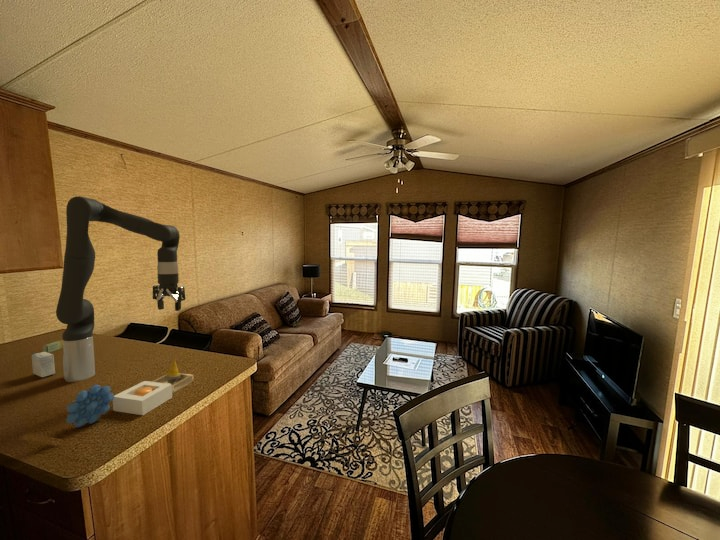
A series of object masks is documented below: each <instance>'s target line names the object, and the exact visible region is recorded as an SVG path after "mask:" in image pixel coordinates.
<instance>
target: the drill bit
mask: <svg viewBox="0 0 720 540" xmlns="http://www.w3.org/2000/svg"><path fill="white" fill-rule="evenodd" d="M179 373H180V371H179V368H178V365H177V361H176V359H173V362H172V363H171V365H170V367H169V369H168V371H167V373H166V374H167V375H166V374H165V379H168V381H167V383H171V384H173V383H174V382H175V381H176V380H177V379H179V378H180V374H179Z"/></svg>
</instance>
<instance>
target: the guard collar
mask: <svg viewBox="0 0 720 540" xmlns="http://www.w3.org/2000/svg"><path fill="white" fill-rule="evenodd" d="M144 387H151V388H152V391H151V392H150V393H148V394H146V395H144V396H137V395H135V391H136V390H138V389H140V388H144ZM172 398H173V394H172V384H165V383H157V382H152V381H150V380H144V381H141V382H138V384H135V385H134V386H132V387H128V388H127V389H125V390H122V391H120V392H119V393H117V394H115V395H114V398H113V400H112V410H113V411H114V412H119V413H125V414H133V415H138V416H144V415H146V414H148V413H149V412H151V411H153V410H154V409H156V408H157V407H159V406H161V405H162V404H164V403H166V402H168V400H170V399H172Z"/></svg>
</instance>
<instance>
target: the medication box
mask: <svg viewBox="0 0 720 540" xmlns="http://www.w3.org/2000/svg"><path fill="white" fill-rule="evenodd" d="M60 349H63V339H60V340H57V341H54V342H51V343H47V344H43V345H42V352H47V353H52V352H54V351H57V350H60Z"/></svg>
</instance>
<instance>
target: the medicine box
mask: <svg viewBox="0 0 720 540" xmlns="http://www.w3.org/2000/svg"><path fill="white" fill-rule="evenodd" d="M31 364H32V373H33V374H34V375H36V376H37V377H40V378H45V377H48V376H51V375H55V374H56V370H55V369H56V368H55V367H56V366H55V357H54V354H53V353H51V352H49V353H47V352H43V351H41V352H37V353H34V354H31Z"/></svg>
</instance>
